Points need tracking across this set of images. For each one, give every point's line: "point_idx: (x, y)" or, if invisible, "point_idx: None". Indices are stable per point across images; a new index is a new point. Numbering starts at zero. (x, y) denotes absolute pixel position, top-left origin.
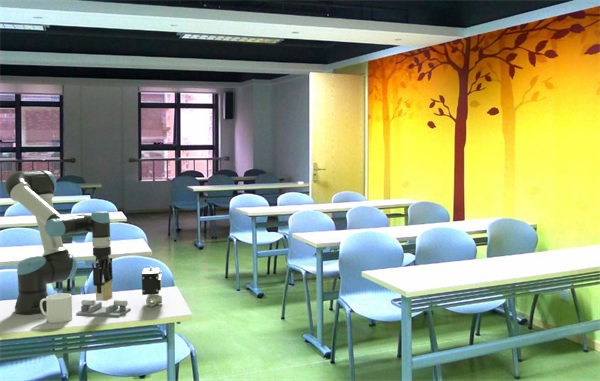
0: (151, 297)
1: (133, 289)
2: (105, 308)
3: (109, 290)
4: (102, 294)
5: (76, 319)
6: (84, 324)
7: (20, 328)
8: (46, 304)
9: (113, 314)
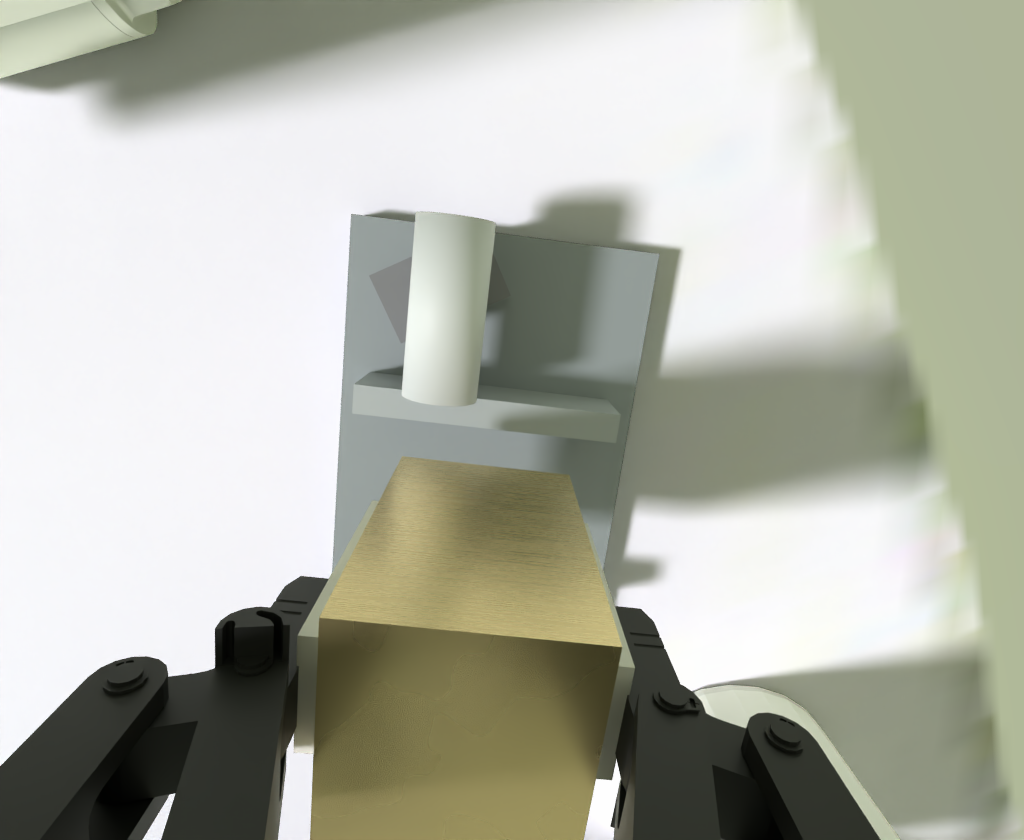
0: None
1: None
2: None
3: (474, 522)
4: (602, 573)
5: (715, 646)
6: (889, 510)
7: None
8: None
9: (640, 324)
